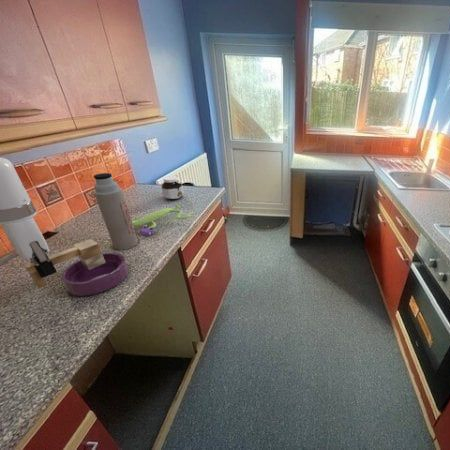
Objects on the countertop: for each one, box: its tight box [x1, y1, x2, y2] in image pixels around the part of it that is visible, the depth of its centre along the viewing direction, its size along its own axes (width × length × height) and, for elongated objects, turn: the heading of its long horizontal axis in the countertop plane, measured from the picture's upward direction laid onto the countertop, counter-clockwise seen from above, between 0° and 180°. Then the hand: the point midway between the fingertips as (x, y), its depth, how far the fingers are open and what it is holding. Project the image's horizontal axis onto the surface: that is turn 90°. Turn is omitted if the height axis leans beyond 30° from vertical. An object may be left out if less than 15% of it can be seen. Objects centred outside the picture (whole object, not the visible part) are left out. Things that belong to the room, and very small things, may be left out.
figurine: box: [131, 204, 196, 236], centre depth 112 cm, size 18×27×6 cm
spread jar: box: [161, 175, 185, 201], centre depth 139 cm, size 12×11×12 cm
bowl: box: [60, 252, 129, 297], centre depth 78 cm, size 16×16×5 cm
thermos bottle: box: [93, 172, 139, 251], centre depth 91 cm, size 8×8×28 cm
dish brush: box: [23, 238, 106, 289], centre depth 71 cm, size 15×5×7 cm, turn 147°
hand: (47, 272), depth 67 cm, fingers closed on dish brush
